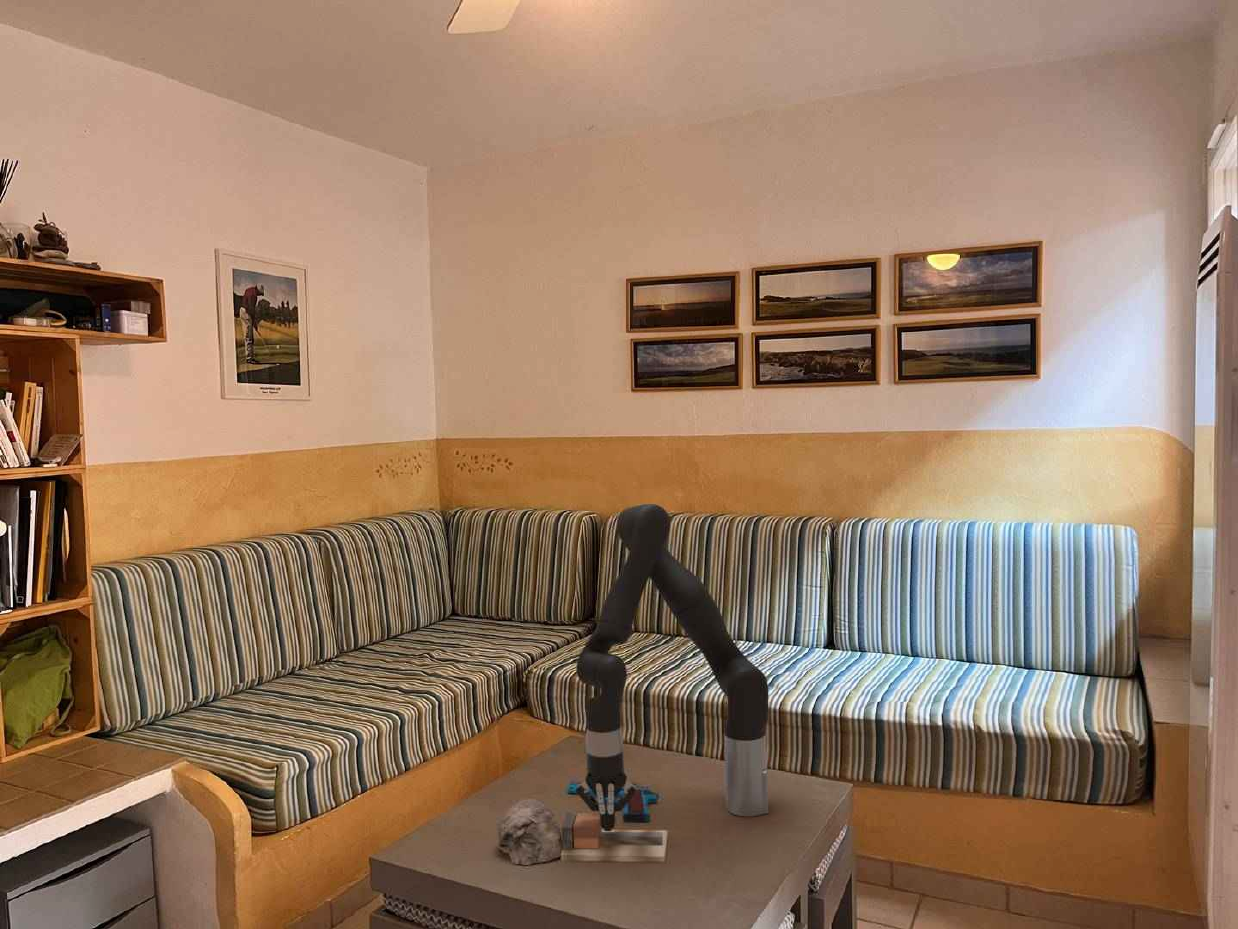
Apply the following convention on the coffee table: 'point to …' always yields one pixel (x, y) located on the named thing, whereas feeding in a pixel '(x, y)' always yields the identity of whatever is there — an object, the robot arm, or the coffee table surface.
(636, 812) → the handgun
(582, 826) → the slider block
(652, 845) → the rail board
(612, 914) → the coffee table surface
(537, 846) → the rock
